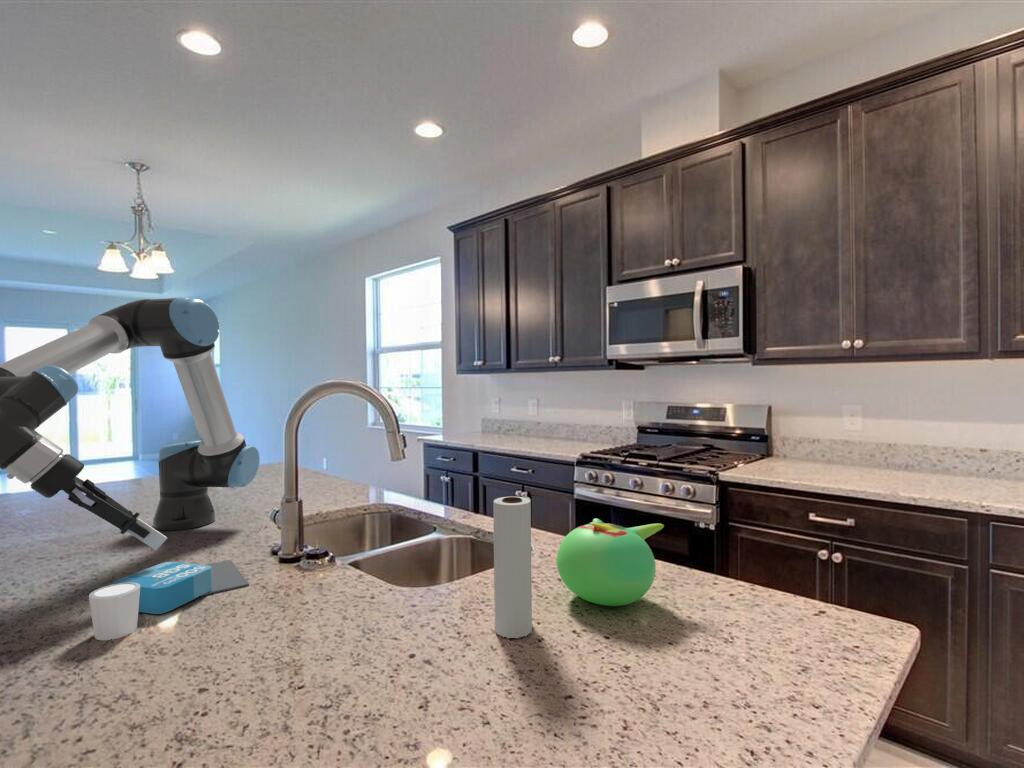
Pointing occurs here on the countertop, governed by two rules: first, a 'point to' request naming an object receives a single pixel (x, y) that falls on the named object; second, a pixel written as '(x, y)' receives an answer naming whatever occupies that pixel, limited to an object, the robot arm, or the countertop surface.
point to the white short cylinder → (115, 610)
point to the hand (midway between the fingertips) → (161, 543)
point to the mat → (226, 577)
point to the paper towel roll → (512, 566)
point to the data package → (170, 585)
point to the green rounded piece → (607, 562)
